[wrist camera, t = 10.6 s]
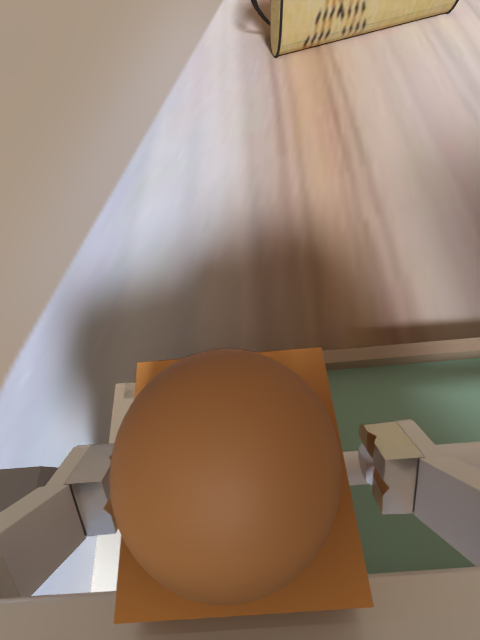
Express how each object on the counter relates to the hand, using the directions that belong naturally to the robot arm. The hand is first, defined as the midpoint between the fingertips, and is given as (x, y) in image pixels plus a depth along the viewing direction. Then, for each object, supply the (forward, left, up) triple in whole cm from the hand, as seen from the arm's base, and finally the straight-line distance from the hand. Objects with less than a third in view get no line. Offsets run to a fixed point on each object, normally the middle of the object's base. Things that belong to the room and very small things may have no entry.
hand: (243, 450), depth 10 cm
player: (-1, 0, -8) cm, 8 cm away
